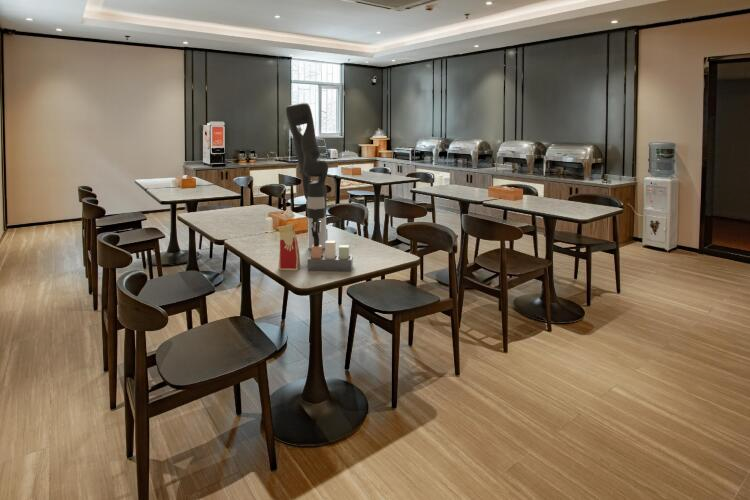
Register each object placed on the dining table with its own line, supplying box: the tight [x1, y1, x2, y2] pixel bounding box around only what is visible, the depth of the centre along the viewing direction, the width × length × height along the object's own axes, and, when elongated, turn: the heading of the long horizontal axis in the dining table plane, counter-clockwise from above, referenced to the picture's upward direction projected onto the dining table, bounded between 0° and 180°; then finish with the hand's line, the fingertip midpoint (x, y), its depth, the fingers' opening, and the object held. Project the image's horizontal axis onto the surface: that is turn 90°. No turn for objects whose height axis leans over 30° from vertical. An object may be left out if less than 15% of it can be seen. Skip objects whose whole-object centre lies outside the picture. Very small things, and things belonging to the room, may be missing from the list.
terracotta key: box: [310, 245, 323, 259], centre depth 224 cm, size 4×4×7 cm
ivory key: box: [324, 240, 337, 259], centre depth 224 cm, size 4×4×7 cm
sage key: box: [338, 244, 350, 259], centre depth 224 cm, size 4×4×7 cm
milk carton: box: [276, 223, 301, 271], centre depth 223 cm, size 9×9×20 cm
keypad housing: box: [307, 253, 354, 272], centre depth 225 cm, size 19×9×5 cm, turn 89°
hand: (316, 245), depth 223 cm, fingers closed
